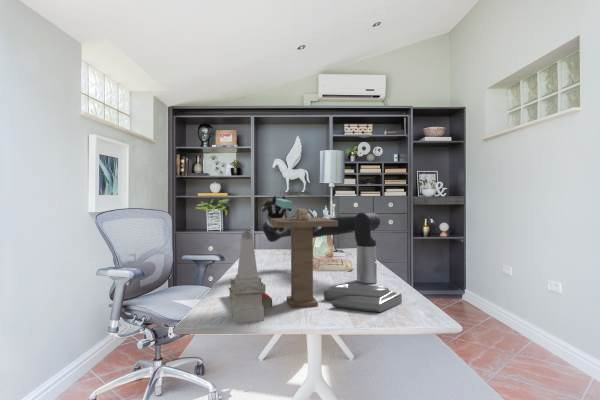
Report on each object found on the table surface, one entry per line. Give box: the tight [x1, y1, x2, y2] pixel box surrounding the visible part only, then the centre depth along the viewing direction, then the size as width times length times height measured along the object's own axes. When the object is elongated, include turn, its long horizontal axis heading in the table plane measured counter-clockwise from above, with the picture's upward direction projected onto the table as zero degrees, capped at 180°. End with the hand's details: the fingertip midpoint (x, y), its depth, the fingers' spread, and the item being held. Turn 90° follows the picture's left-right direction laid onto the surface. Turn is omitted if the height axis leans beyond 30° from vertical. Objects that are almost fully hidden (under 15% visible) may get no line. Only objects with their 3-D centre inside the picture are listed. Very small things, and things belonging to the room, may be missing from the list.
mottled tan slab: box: [313, 257, 355, 273], centre depth 203 cm, size 28×6×30 cm
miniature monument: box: [230, 228, 266, 325], centre depth 117 cm, size 10×10×30 cm
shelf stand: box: [270, 208, 338, 309], centre depth 132 cm, size 22×22×36 cm
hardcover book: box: [228, 286, 273, 309], centre depth 135 cm, size 12×21×4 cm, turn 23°
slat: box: [275, 197, 294, 209], centre depth 137 cm, size 28×3×2 cm, turn 11°
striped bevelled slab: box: [323, 283, 403, 313], centre depth 134 cm, size 28×5×28 cm
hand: (279, 197), depth 145 cm, fingers closed on slat, 3 cm apart
